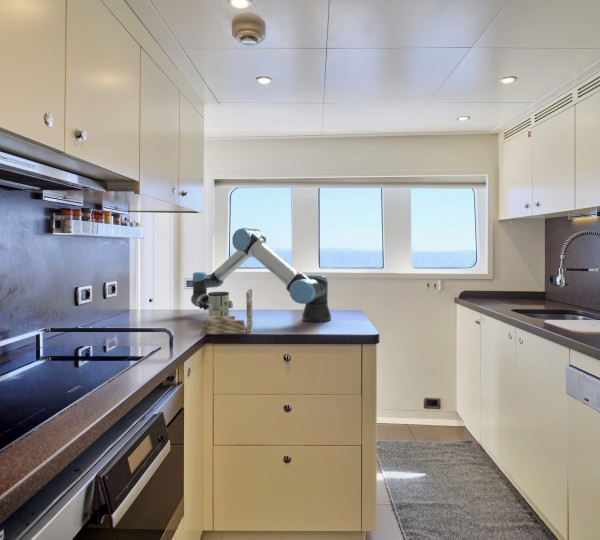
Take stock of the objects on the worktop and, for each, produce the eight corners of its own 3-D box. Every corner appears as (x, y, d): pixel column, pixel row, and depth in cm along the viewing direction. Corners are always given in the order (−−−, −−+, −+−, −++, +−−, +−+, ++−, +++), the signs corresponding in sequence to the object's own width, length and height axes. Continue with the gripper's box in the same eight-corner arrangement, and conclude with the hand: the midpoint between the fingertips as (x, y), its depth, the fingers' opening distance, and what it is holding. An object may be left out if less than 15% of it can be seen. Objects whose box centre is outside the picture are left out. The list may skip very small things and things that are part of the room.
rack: (252, 326, 199) (252, 289, 198) (250, 333, 183) (249, 292, 182) (206, 327, 198) (205, 290, 197) (200, 334, 182) (199, 293, 181)
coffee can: (212, 318, 215) (211, 291, 214) (231, 318, 214) (231, 291, 213) (205, 322, 204) (205, 293, 204) (226, 322, 203) (225, 293, 203)
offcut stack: (245, 329, 185) (244, 315, 185) (244, 329, 183) (244, 316, 183) (202, 329, 184) (201, 316, 184) (201, 330, 182) (201, 317, 182)
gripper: (225, 307, 230) (242, 312, 211) (185, 310, 218) (200, 316, 199) (225, 293, 230) (242, 297, 211) (185, 296, 217) (199, 300, 199)
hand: (222, 306), depth 205 cm, fingers closed on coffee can, 10 cm apart
